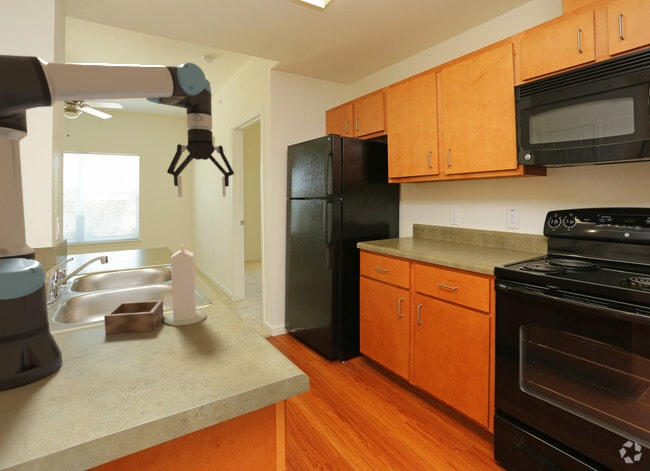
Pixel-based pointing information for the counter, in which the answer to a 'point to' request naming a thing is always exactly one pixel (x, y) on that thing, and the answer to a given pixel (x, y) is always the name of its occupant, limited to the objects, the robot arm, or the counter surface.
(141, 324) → the sleeve
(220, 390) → the counter surface
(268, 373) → the counter surface
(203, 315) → the cream glossy dome
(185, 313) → the milk
